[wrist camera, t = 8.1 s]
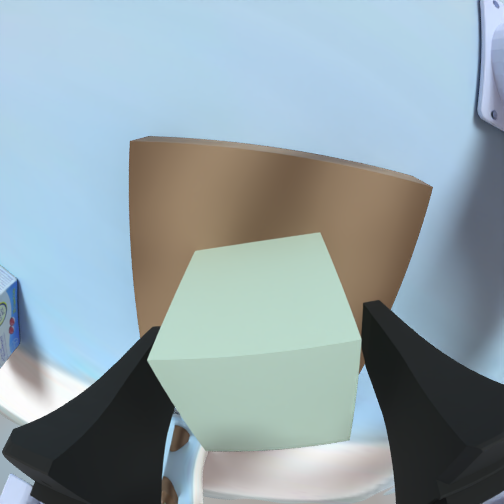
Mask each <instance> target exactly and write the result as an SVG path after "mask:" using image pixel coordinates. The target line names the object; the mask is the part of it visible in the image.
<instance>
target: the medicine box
mask: <svg viewBox="0 0 504 504" xmlns="http://www.w3.org/2000/svg"><path fill="white" fill-rule="evenodd" d="M19 344H20V333H19V321H18V306H17V278H16V277H15V276H14V275H12V274H11V273H10V272H9V271H7V270H6V269H5V268H4V267H3V266H1V265H0V368H1V367H2V366H3V364H4V363H5V362H6V360H7V359H8V358H9V356H10V355H11V354H12V353H13V351H14V350H15V349H16V348H17V347H18V345H19Z"/></svg>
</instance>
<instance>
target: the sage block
mask: <svg viewBox="0 0 504 504" xmlns="http://www.w3.org/2000/svg"><path fill="white" fill-rule="evenodd" d="M361 340H362V339H361V336H360V333H359V331H358V328H357V325H356V322H355V319H354V317H353V314H352V311H351V309H350V306H349V303H348V301H347V298H346V295H345V293H344V290H343V287H342V285H341V282H340V280H339V277H338V275H337V272H336V270H335V267H334V265H333V262H332V260H331V257H330V255H329V252H328V250H327V247H326V245H325V243H324V240H323V238H322V236H321V233H320V232H319V233H312V234H305V235H298V236H291V237H284V238H278V239H271V240H264V241H257V242H251V243H244V244H237V245H231V246H224V247H218V248H211V249H204V250H198V251H195V252H194V254H193V256H192V259H191V261H190V263H189V265H188V267H187V269H186V271H185V274H184V276H183V278H182V280H181V282H180V285H179V287H178V289H177V291H176V294H175V296H174V298H173V300H172V302H171V305H170V307H169V309H168V312H167V314H166V316H165V319H164V321H163V323H162V325H161V328H160V330H159V333H158V335H157V337H156V340H155V342H154V344H153V347H152V349H151V352H150V354H149V356H148V359H147V361H148V363H149V364H150V366H151V368H152V370H153V371H154V373H155V375H156V377H157V378H158V380H159V382H160V383H161V385H162V387H163V388H164V390H165V392H166V393H167V395H168V396H169V398H170V400H171V401H172V403H173V404H174V406H175V408H176V409H177V411H178V412H179V414H180V415H181V417H182V418H183V420H184V421H185V423H186V424H187V426H188V427H189V429H190V430H191V431H192V433H193V434H194V436H195V437H196V439H197V440H198V441H199V443H200V444H201V445H202V447H203V448H204V450H205V451H224V452H232V451H265V450H280V449H291V448H301V447H309V446H317V445H324V444H330V443H337V442H342V441H348V440H350V435H351V428H352V422H353V415H354V408H355V401H356V393H357V384H358V375H359V365H360V353H361Z"/></svg>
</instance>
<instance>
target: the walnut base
mask: <svg viewBox="0 0 504 504" xmlns="http://www.w3.org/2000/svg"><path fill="white" fill-rule="evenodd" d="M432 189H433V187H432V186H430V185H428V184H426V183H424V182H423V181H421V180H419V179H417V178H415V177H413V176H410V175H407V174H403V173H399V172H395V171H391V170H387V169H383V168H379V167H375V166H371V165H367V164H362V163H358V162H353V161H348V160H344V159H339V158H334V157H329V156H324V155H318V154H313V153H307V152H301V151H295V150H289V149H282V148H276V147H269V146H261V145H253V144H245V143H236V142H227V141H217V140H206V139H193V138H177V137H157V136H148V137H144V138H140V139H136V140H132V141H130V152H129V219H130V242H131V258H132V271H133V282H134V292H135V301H136V310H137V318H138V325H139V332H140V338H141V337H142V336H143V335H144V334H145V333H146V332H147V331H148V330H149V329H151V328H152V327H154V326H161V325H162V323H163V321H164V319H165V316H166V314H167V312H168V309H169V307H170V305H171V302H172V300H173V298H174V296H175V294H176V291H177V289H178V287H179V285H180V282H181V280H182V278H183V276H184V274H185V271H186V269H187V267H188V265H189V263H190V261H191V259H192V256H193V254H194V252H195V251H198V250H204V249H211V248H218V247H224V246H231V245H237V244H244V243H251V242H257V241H264V240H271V239H278V238H284V237H291V236H298V235H305V234H312V233H319V232H320V233H321V236H322V238H323V240H324V243H325V245H326V247H327V250H328V252H329V255H330V257H331V260H332V262H333V265H334V267H335V270H336V272H337V275H338V277H339V280H340V282H341V285H342V287H343V290H344V293H345V295H346V298H347V301H348V303H349V306H350V309H351V311H352V314H353V317H354V319H355V322H356V325H357V328H358V331H359V333H360V336H361V331H362V314H363V303H364V302H370V301H375V300H380V301H381V302H382V303H383V304H384V305H386V306H387V307H388V308H389V309H390V310H391V308H392V305H393V303H394V301H395V298H396V296H397V293H398V291H399V288H400V286H401V283H402V281H403V278H404V276H405V273H406V270H407V268H408V265H409V262H410V260H411V257H412V254H413V251H414V248H415V245H416V242H417V239H418V236H419V233H420V230H421V227H422V224H423V221H424V217H425V214H426V210H427V207H428V203H429V200H430V196H431V192H432ZM364 364H365V361H364V357H363V352H362V348H361V353H360V365H359V374H360V372H361V370H362V368H363V366H364Z"/></svg>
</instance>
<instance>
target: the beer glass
mask: <svg viewBox="0 0 504 504" xmlns="http://www.w3.org/2000/svg"><path fill="white" fill-rule="evenodd" d="M207 454H208V451H205V450H204V448H203V447H202V445H201V444H200V443H199V441H198V440H197V439H196V437H195V436H194V434H193V433H192V431H191V430H190V429H189V427H188V426H187V424H186V423H185V421H184V420H183V418H182V417H181V415H180V414H175V413H173V415H172V419H171V423H170V426H169V430H168V434H167V439H166V445H165V453H164V461H163V473H162V496H161V503H162V504H204V499H203V481H202V478H203V468H204V463H205V460H206V457H207Z"/></svg>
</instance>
